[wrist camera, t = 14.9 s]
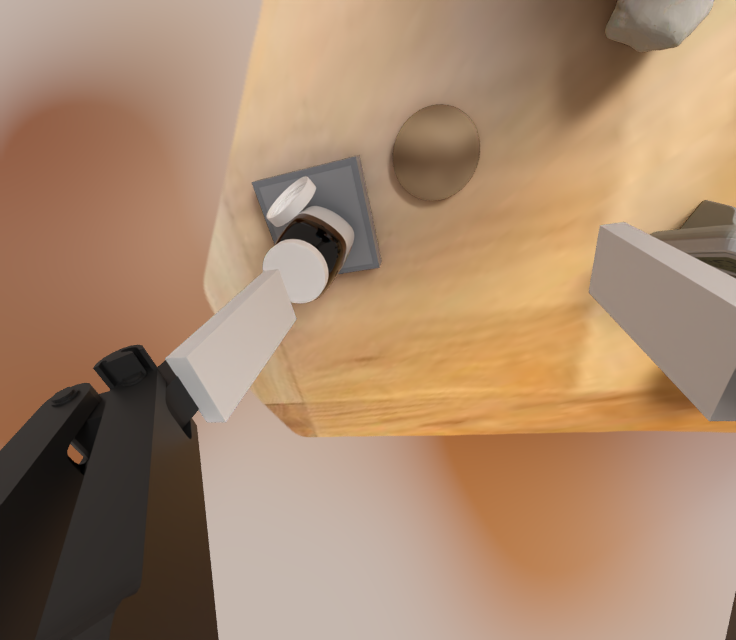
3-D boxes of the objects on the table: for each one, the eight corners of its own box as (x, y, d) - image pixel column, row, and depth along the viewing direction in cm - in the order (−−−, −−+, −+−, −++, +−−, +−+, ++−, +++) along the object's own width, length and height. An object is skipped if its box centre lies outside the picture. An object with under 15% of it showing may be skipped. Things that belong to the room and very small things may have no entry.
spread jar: (332, 284, 46) (307, 326, 36) (262, 243, 44) (215, 275, 34) (374, 212, 39) (357, 238, 30) (294, 161, 38) (248, 171, 28)
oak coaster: (386, 118, 36) (385, 118, 36) (476, 93, 34) (477, 92, 33) (400, 206, 41) (400, 207, 40) (480, 190, 39) (482, 191, 38)
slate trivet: (260, 179, 42) (251, 182, 40) (359, 155, 39) (355, 156, 37) (294, 275, 49) (288, 282, 47) (381, 261, 45) (379, 268, 43)
